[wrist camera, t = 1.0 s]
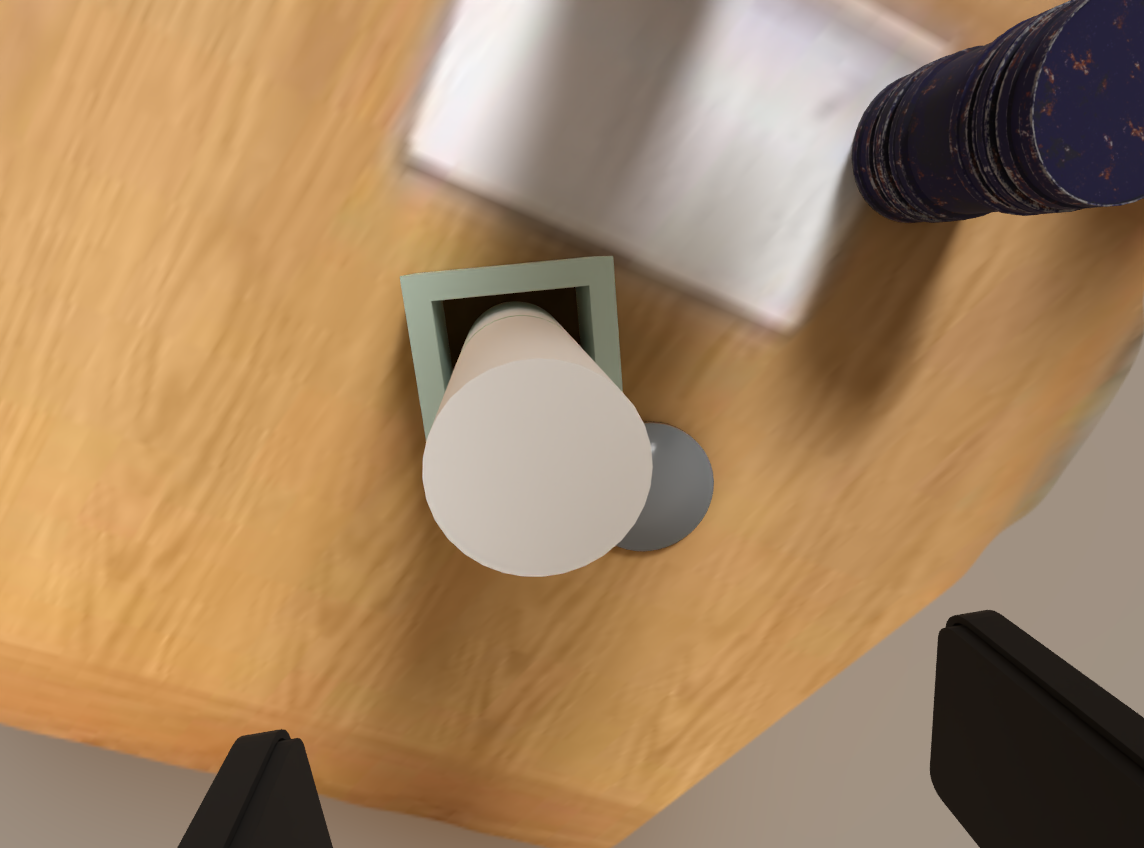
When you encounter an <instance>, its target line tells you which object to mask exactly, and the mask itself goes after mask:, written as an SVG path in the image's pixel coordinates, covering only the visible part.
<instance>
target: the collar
mask: <svg viewBox="0 0 1144 848" xmlns="http://www.w3.org/2000/svg"><path fill="white" fill-rule="evenodd" d="M400 282H401V288H402V294H403V300H404V307H405V313H406V319H407V325H408V332H409V338H410V344H411V350H412V356H413V363H414V369H415V375H416V381H417V387H418V394H419V400H420V406H421V412H422V419H423V425H424V431H425V437H426V441H427V437H428V435H429V432H430V430H431V427H432V425H433V422H434V419H435V417H436V414H437V412H438V409H439V407H440V404H441V401H442V399H443V396H444V394H445V391H446V389H447V386H448V383H449V381H450V378H451V376H452V373H453V368H452V361H451V354H450V347H449V340H448V333H447V326H446V319H445V312H444V306H443V300H448V299H458V298H468V297H478V296H488V295H498V294H508V293H518V292H528V291H538V290H548V289H558V288H568V287H575V288H576V299H577V311H578V322H579V334H580V345H581V348H582V349H583V350H584V351H585V352H586V353H587V354H588V355H589V356H590V357H591V359H592V360H593V361H594V362H595V363H596V364H597V365H598V366H599V367H600V368H601V369H602V370H603V372H604V373H605V374H606V375H607V376H608V377H609V378H610V379H611V380H612V381H613V382H614V383H615V385H616V386H617V387H618V388H619V389H620V390H621V391H622V392H623V388H622V374H621V360H620V345H619V331H618V317H617V303H616V289H615V275H614V261H613V256H591V257H581V258H570V259H560V260H549V261H539V262H528V263H518V264H508V265H497V266H487V267H476V268H466V269H455V270H445V271H434V272H424V273H415V274H409V275H404V276H400Z"/></svg>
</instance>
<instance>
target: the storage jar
mask: <svg viewBox="0 0 1144 848" xmlns="http://www.w3.org/2000/svg"><path fill="white" fill-rule="evenodd" d="M852 163H853V172H854V176H855V180H856V183H857V186H858V188H859V191H860V193H861V194H862V196H863V198H864V199H865V201H866V202H867V203H868V204H869V205H870V206H871V207H872V209H874V210H875V211H876V212H878V213H879V214H880V215H882V216H884V217H886V218H888V219H890V220H894V221H897V222H904V223H915V222H931V223H936V222H949V221H958V220H966V219H971V218H976V217H980V216H984V215H986V214H989V213H991V212H1001V213H1007V214H1013V215H1022V216H1027V215H1038V214H1047V213H1061V212H1072V211H1076V210H1080V209H1084V208H1094V207H1108V206H1120V205H1124V204H1128V203H1132V202H1135V201H1138V200H1140V199H1143V198H1144V0H1070V1H1068V2H1066V3H1063V4H1061V5H1059V6H1056V7H1054V8H1052V9H1050V10H1047V11H1045V12H1043V13H1041V14H1039V15H1037V16H1034V17H1032V18H1029V19H1027V20H1025V21H1022V22H1020V23H1019V24H1017V25H1015V26H1014V27H1012V28H1010V29H1009V30H1007V31H1006V32H1005V33H1004V34H1002V35H1000V36H999V37H998V38H996V39H995V40H994V41H993V42H991V43H989V44H987V45H985V46H976V47H972V48H968V49H965V50H962V51H959V52H957V53H954V54H952V55H949V56H945V57H943V58H940V59H938V60H936V61H933V62H931V63H929V64H927V65H924V66H923V67H921V68H919V69H918V70H916V71H914V72H913V73H911V74H909V75H907V76H904V77H902V78H900V79H898V80H896V81H894V82H893V83H891V84H890V85H888V86H887V87H886V88H884V89H883V90H882V91H881V92H880V93H879V94H878V95H877V96H876V97H875V98H874V99H873V101H872V102H871V103H870V105H869V106H868V108H867V109H866V111H865V112H864V114H863V116H862V118H861V120H860V122H859V125H858V128H857V131H856V134H855V138H854V143H853V152H852Z"/></svg>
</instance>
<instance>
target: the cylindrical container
mask: <svg viewBox="0 0 1144 848" xmlns="http://www.w3.org/2000/svg"><path fill="white" fill-rule="evenodd" d="M652 469H653V464H652V451H651V444H650V441H649V437H648V434H647V431H646V427H645V425H644V423H643V421H642V419H641V417H640V415H639V414H638V412H637V410H636V408H635V406H634V405H633V404H632V403H631V401H630V400H629V399H628V398H627V397H626V396H625V395H624V393H623V392H622V391H621V390H620V389H619V388H618V387H617V386H616V385H615V383H614V382H613V381H612V380H611V379H610V378H609V377H608V376H607V375H606V374H605V373H604V372H603V370H602V369H601V368H600V367H599V366H598V365H597V364H596V363H595V362H594V361H593V360H592V359H591V357H590V356H589V355H588V354H587V353H586V352H585V351H584V350H583V349H582V348H581V347H580V346H579V344H578V343H577V342H576V341H575V340H574V339H573V338H572V337H571V336H570V335H569V334H568V332H567V331H566V330H565V329H564V328H563V327H562V326H561V325H560V324H559V323H558V322H557V321H556V320H555V319H554V317H553V316H552V315H551V314H549V313H548V312H547V311H545V310H544V309H543V308H540V307H538V306H536V305H534V304H531V303H527V302H520V301H511V302H504V303H501V304H498V305H495V306H493V307H491V308H490V309H488V310H486V311H485V312H484V313H483V314H481V315H480V316H479V317H478V318H477V319H476V321H475V322H474V324H473V325H472V326H471V328H470V331H469V333H468V335H467V338H466V340H465V343H464V345H463V348H462V351H461V353H460V356H459V358H458V360H457V363H456V365H455V368H454V371H453V373H452V376H451V378H450V381H449V383H448V386H447V389H446V391H445V394H444V396H443V399H442V401H441V404H440V407H439V409H438V412H437V414H436V417H435V419H434V422H433V425H432V427H431V430H430V432H429V435H428V437H427V441H426V446H425V451H424V455H423V475H422V479H423V484H424V490H425V495H426V500H427V502H428V505H429V507H430V510H431V512H432V514H433V517H434V519H435V521H436V522H437V524H438V525H439V527H440V528H441V530H442V531H443V532H444V534H445V535H446V537H447V538H448V539H449V540H450V541H451V542H452V543H453V544H454V545H455V546H456V547H457V548H458V549H460V550H461V551H462V552H463V553H464V554H465V555H467V556H469V557H470V558H472V559H473V560H475V561H477V562H478V563H480V564H482V565H483V566H486V567H489V568H491V569H494V570H497V571H500V572H502V573H507V574H512V575H518V576H530V577H544V576H550V575H557V574H563V573H566V572H569V571H572V570H575V569H578V568H581V567H584V566H586V565H588V564H589V563H591V562H593V561H595V560H596V559H598V558H600V557H602V556H603V555H605V554H606V553H607V552H608V551H610V550H611V549H612V548H613V547H614V546H616V545H617V544H618V543H619V542H620V541H621V540H622V539H623V538H624V537H625V535H626V534H627V533H628V532H629V530H630V529H631V528H632V527H633V525H634V524H635V523H636V521H637V519H638V517H639V515H640V513H641V511H642V509H643V507H644V506H645V503H646V499H647V496H648V493H649V490H650V486H651V478H652Z"/></svg>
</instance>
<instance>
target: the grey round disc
mask: <svg viewBox="0 0 1144 848" xmlns="http://www.w3.org/2000/svg"><path fill="white" fill-rule="evenodd" d="M643 423H644V425H645V427H646V431H647V434H648V437H649V441H650V444H651V451H652V464H653V469H652V478H651V486H650V490H649V493H648V496H647V499H646V503H645V506H644V507H643V509H642V511H641V513H640V515H639V517H638V519H637V521H636V523H635V524H634V525H633V527H632V528H631V529H630V530H629V532H628V533H627V534H626V535H625V537H624V538H623V539H622V540H621V541H620V542H619V543H618V544H617V545H616V546H618V547H621V548H624V549H627V550H633V551H652V550H657V549H662V548H665V547H668V546H670V545H672V544H674V543H677V542H678V541H680V540H681V539H683V538H684V537H686V536H687V535H688V534H690V533H691V532H692V531H693V530H694V529H695V528H696V527H697V525H698V524H699V523H700V522H701V520H702V519H703V517H704V516H705V514H706V512H707V510H708V508H709V505H710V502H711V499H712V494H713V486H714V479H713V471H712V467H711V464H710V461H709V459H708V457H707V455H706V453H705V452H704V450H703V449H702V447H701V446H700V445H699V444H698V443H697V442H696V441H695V440H694V439H693V438H692V437H691V436H690V435H688V434H687V433H686V432H684V431H683V430H681V429H679V428H677V427H675V426H672V425H669V424H666V423H661V422H643Z"/></svg>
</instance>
